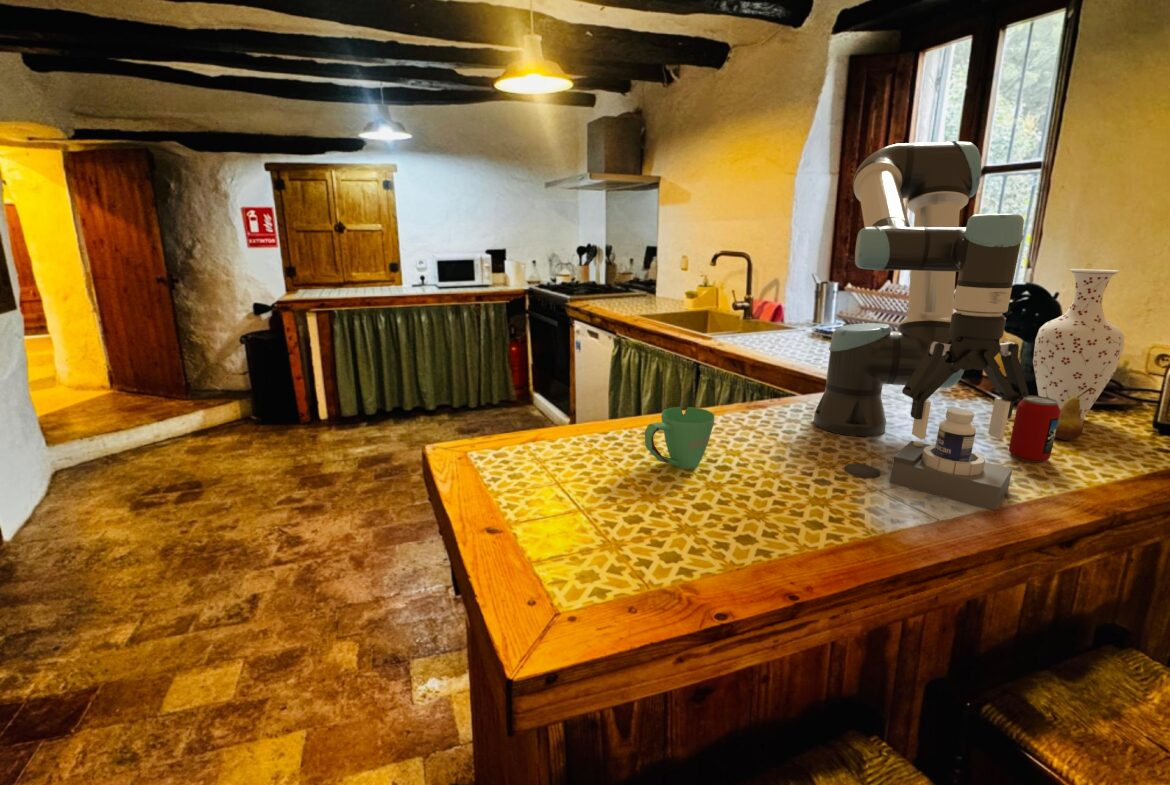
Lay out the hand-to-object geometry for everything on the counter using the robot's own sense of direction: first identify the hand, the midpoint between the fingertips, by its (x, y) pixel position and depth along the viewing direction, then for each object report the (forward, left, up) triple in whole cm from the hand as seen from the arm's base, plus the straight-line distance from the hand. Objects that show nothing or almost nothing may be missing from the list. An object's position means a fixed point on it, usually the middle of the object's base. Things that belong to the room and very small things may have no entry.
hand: (956, 436), depth 103 cm
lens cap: (-12, -7, -10) cm, 17 cm away
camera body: (0, 0, -9) cm, 9 cm away
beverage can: (+1, +28, -9) cm, 30 cm away
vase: (-7, +65, -9) cm, 66 cm away
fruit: (0, +47, -9) cm, 48 cm away
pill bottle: (0, 0, -5) cm, 5 cm away
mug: (-32, -35, -9) cm, 48 cm away
